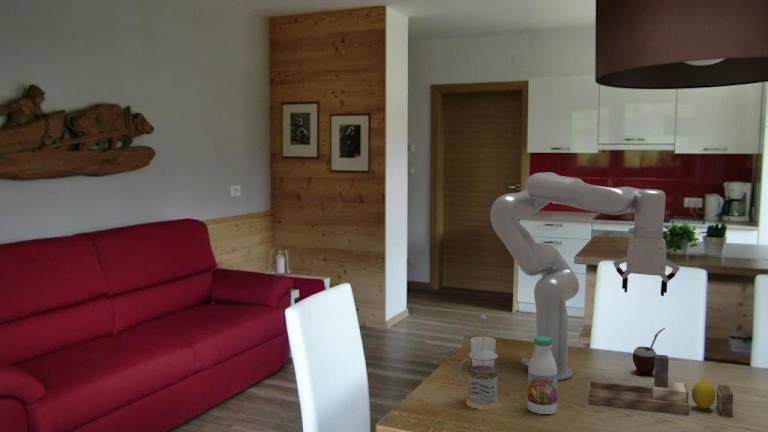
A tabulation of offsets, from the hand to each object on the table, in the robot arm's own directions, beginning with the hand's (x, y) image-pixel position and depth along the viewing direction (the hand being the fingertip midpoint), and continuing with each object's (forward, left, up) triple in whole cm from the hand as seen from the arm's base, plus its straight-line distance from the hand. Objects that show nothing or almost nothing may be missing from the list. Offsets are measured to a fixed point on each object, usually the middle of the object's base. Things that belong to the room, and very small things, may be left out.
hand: (643, 293), depth 183 cm
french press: (-43, -21, -30) cm, 56 cm away
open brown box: (+20, -7, -29) cm, 36 cm away
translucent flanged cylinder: (-47, +6, -30) cm, 56 cm away
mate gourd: (+2, +18, -30) cm, 35 cm away
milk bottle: (-26, -21, -30) cm, 44 cm away
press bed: (-1, -7, -29) cm, 30 cm away
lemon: (+15, -7, -30) cm, 34 cm away
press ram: (+7, -7, -28) cm, 30 cm away
